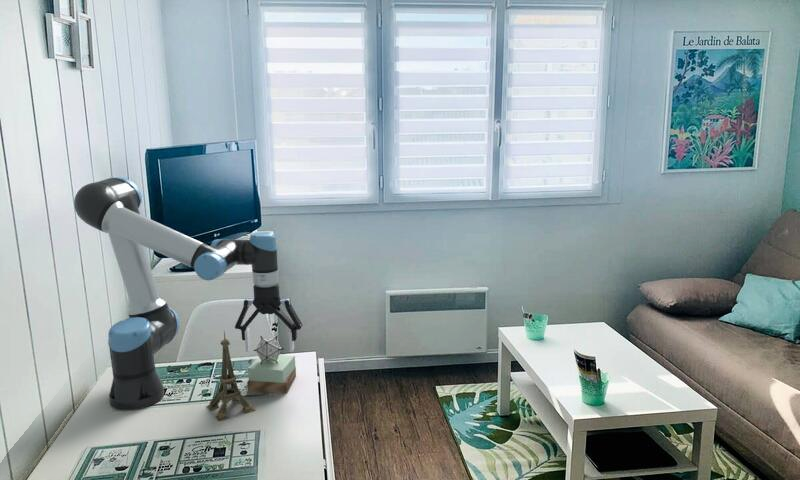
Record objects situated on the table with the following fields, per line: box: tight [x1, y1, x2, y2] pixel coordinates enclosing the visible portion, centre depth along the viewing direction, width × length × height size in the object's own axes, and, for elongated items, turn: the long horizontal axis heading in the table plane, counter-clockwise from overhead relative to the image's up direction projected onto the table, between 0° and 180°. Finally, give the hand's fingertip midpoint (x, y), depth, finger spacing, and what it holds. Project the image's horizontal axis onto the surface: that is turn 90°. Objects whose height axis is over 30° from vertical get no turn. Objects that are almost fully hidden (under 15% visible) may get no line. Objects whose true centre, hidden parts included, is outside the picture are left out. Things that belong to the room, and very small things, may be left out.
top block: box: [247, 354, 296, 383], centre depth 201 cm, size 11×11×4 cm
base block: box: [246, 365, 297, 394], centre depth 202 cm, size 12×12×4 cm
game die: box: [253, 335, 285, 364], centre depth 200 cm, size 9×8×10 cm
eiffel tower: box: [206, 331, 256, 422], centre depth 185 cm, size 11×11×25 cm
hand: (270, 350), depth 200 cm, fingers open, 13 cm apart
